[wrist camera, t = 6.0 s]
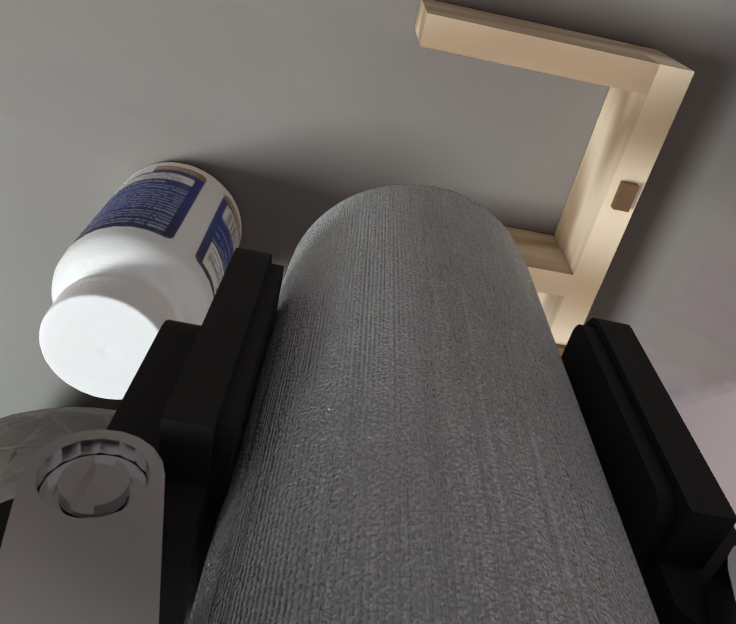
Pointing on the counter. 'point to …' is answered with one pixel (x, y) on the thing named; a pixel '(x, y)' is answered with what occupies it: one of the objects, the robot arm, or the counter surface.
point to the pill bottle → (138, 275)
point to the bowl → (40, 437)
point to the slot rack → (605, 149)
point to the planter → (416, 440)
